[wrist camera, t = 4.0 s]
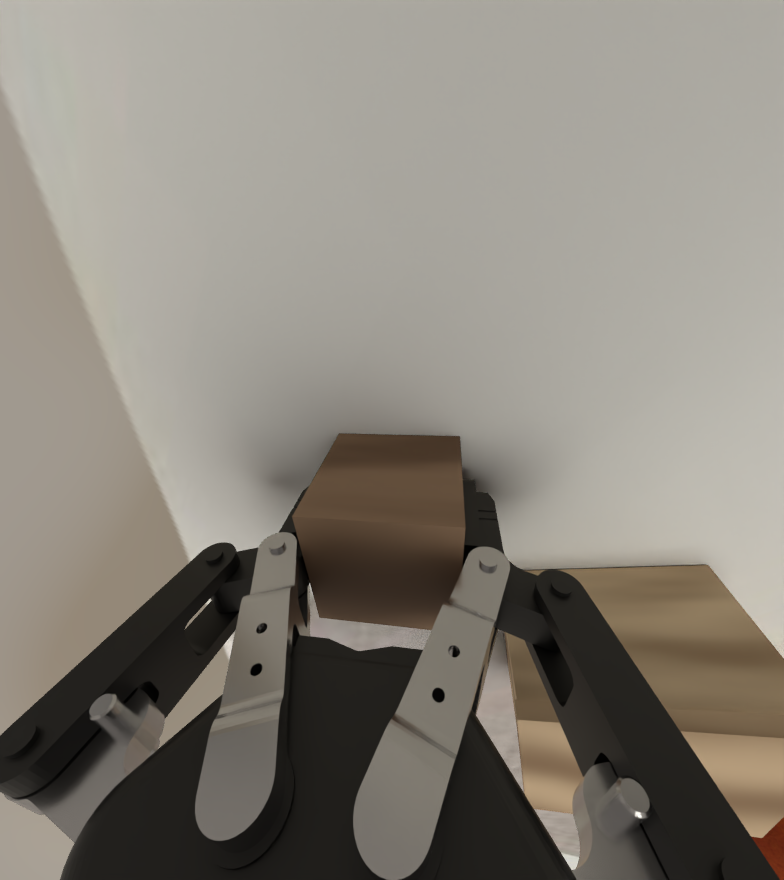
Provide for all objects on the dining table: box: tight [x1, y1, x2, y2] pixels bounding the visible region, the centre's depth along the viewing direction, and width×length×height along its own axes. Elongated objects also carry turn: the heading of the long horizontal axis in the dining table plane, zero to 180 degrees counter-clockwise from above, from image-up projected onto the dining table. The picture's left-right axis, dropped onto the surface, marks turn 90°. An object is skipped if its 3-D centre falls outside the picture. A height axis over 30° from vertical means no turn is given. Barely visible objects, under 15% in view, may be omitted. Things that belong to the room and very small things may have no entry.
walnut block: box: [292, 434, 466, 630], centre depth 13 cm, size 5×5×5 cm
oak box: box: [504, 565, 784, 838], centre depth 15 cm, size 9×9×6 cm
